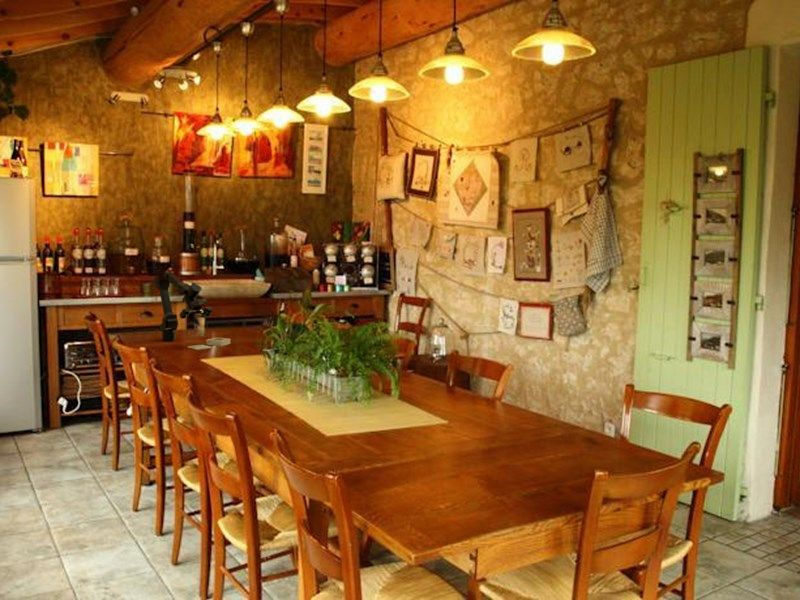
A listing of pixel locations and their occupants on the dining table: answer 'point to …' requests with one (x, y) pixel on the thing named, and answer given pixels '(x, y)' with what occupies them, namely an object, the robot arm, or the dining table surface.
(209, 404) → the dining table surface
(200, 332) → the post
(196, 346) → the pad
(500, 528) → the dining table surface
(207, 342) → the collar
